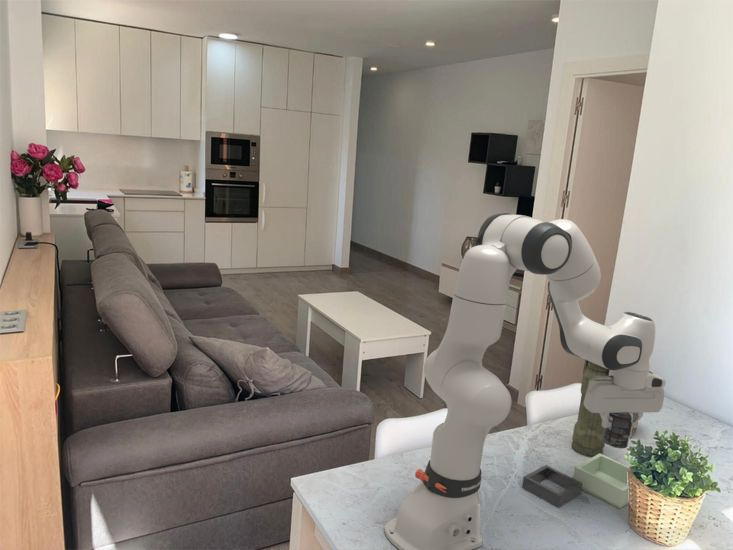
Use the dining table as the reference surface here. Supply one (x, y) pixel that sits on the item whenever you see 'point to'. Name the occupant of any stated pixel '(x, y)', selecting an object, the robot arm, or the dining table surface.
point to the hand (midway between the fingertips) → (618, 427)
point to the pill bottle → (618, 430)
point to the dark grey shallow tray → (548, 494)
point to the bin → (604, 479)
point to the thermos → (589, 418)
